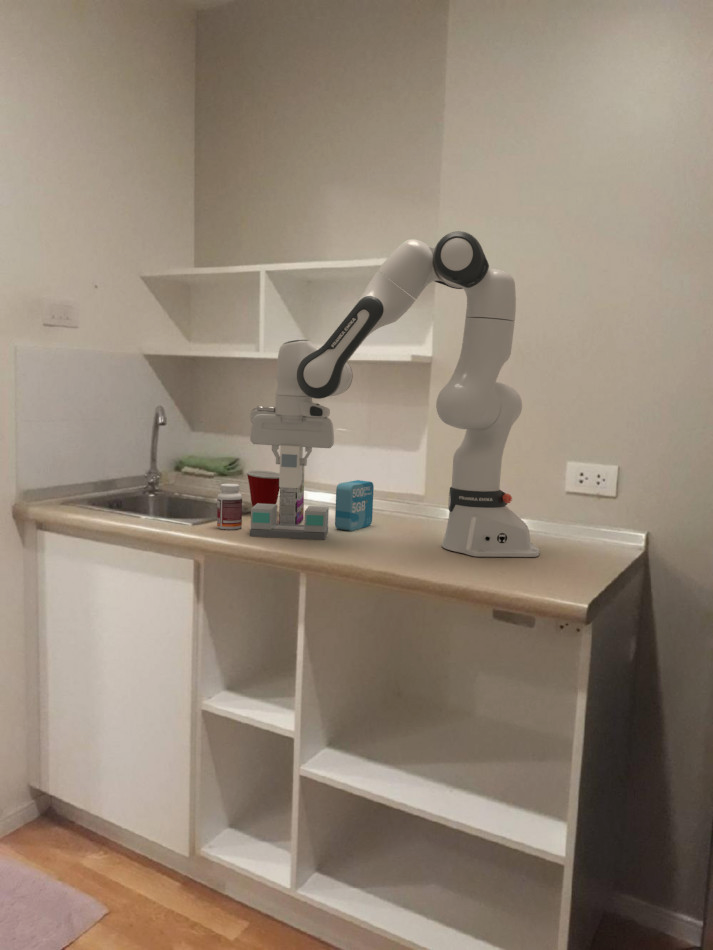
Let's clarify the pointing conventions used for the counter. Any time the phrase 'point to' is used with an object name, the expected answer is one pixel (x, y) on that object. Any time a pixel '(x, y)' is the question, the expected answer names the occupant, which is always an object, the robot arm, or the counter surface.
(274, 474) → the plastic cup
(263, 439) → the robot arm
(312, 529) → the teal-tagged twin block base
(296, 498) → the candy bar box
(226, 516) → the pill bottle
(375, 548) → the counter surface
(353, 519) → the data package
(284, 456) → the module block
